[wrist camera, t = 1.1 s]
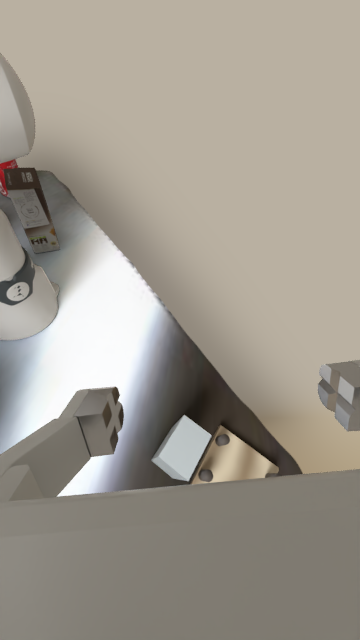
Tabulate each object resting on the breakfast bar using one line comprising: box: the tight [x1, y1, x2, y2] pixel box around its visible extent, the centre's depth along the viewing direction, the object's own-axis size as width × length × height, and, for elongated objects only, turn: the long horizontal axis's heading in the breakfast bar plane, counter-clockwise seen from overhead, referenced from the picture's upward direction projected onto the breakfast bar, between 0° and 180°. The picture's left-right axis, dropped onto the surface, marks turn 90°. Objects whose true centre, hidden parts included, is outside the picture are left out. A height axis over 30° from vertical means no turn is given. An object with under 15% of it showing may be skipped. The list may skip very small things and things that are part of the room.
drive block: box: [151, 415, 212, 481], centre depth 34 cm, size 4×6×12 cm
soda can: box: [0, 159, 18, 198], centre depth 65 cm, size 7×7×12 cm
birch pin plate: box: [190, 425, 282, 485], centre depth 36 cm, size 12×15×4 cm
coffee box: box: [3, 168, 60, 253], centre depth 54 cm, size 9×6×16 cm
